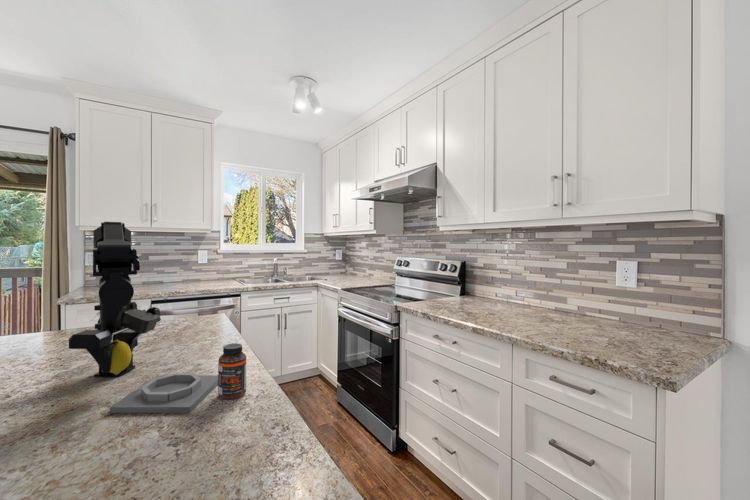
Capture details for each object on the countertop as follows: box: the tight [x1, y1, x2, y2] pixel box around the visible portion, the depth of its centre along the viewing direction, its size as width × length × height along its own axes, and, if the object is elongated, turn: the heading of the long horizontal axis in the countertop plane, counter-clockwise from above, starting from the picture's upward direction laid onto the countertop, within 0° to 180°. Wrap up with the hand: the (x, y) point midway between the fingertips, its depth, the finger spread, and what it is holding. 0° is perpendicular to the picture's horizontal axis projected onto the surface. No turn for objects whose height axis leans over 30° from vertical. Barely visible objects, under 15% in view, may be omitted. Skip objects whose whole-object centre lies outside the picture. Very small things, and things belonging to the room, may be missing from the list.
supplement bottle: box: [217, 342, 247, 401], centre depth 77 cm, size 6×6×11 cm
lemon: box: [110, 340, 131, 375], centre depth 77 cm, size 6×6×8 cm
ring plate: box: [109, 372, 218, 414], centre depth 77 cm, size 16×16×3 cm
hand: (116, 367), depth 77 cm, fingers closed on lemon, 5 cm apart
